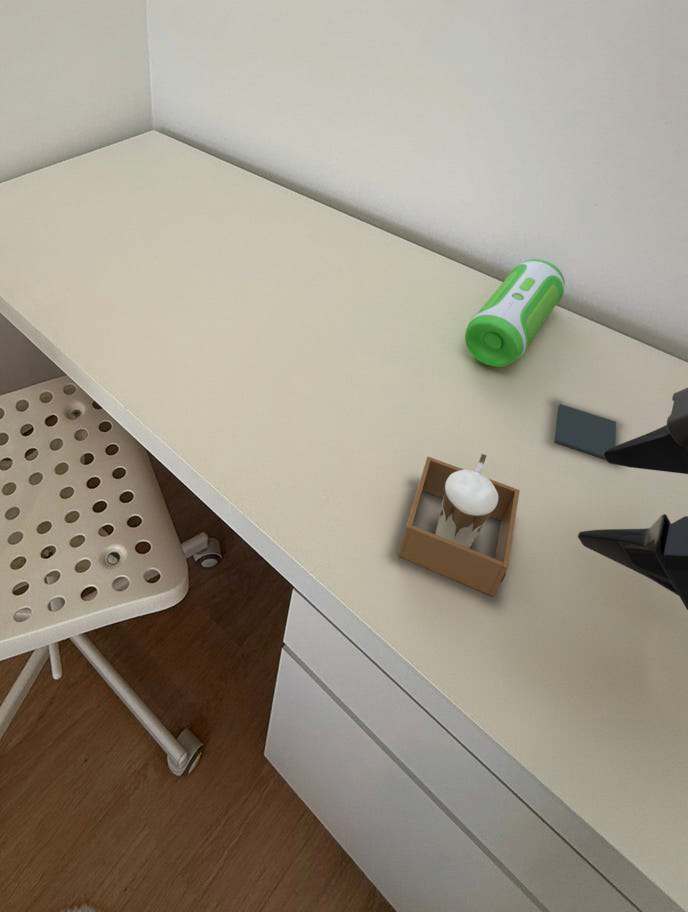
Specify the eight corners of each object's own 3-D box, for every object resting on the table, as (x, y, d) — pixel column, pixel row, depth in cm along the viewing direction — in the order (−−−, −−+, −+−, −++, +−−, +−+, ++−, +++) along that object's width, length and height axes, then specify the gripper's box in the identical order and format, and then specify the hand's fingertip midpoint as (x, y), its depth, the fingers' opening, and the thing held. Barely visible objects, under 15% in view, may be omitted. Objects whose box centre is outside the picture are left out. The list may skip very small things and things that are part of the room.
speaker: (510, 381, 83) (528, 336, 78) (454, 354, 86) (468, 310, 82) (558, 311, 93) (576, 268, 89) (506, 289, 97) (521, 247, 92)
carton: (506, 519, 67) (520, 490, 64) (494, 597, 61) (509, 568, 58) (418, 485, 71) (427, 455, 68) (397, 555, 64) (406, 526, 61)
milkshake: (482, 526, 67) (510, 464, 61) (470, 571, 63) (497, 509, 57) (437, 506, 69) (459, 444, 63) (422, 548, 65) (444, 486, 59)
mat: (614, 423, 77) (616, 421, 77) (613, 462, 73) (615, 460, 73) (558, 405, 79) (559, 403, 79) (554, 442, 75) (555, 440, 75)
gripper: (804, 306, 46) (574, 346, 58) (799, 496, 34) (510, 499, 46) (869, 434, 48) (632, 448, 59) (885, 660, 36) (585, 622, 47)
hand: (593, 495), depth 53 cm, fingers open, 9 cm apart
